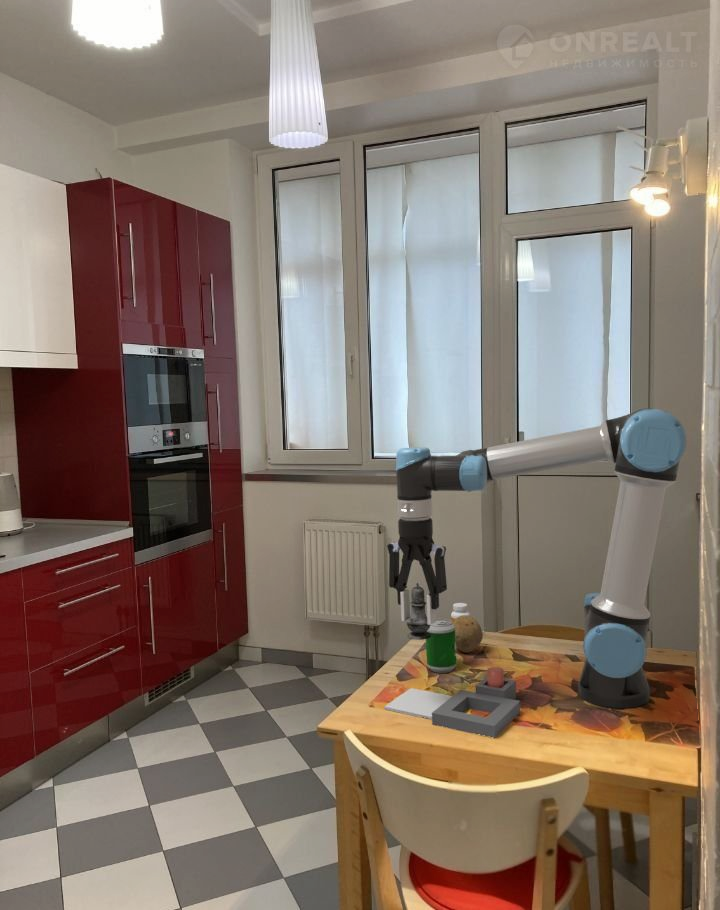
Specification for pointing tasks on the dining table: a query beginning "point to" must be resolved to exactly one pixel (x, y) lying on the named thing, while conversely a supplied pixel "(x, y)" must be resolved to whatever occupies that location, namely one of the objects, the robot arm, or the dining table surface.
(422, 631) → the dark grey figurine
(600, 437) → the robot arm
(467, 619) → the brown potato
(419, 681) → the dining table surface
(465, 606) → the supplement bottle
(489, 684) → the plunger
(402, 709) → the grey mat
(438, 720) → the socket housing
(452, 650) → the soda can
